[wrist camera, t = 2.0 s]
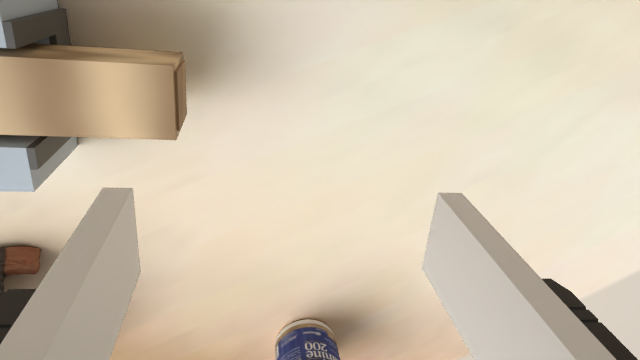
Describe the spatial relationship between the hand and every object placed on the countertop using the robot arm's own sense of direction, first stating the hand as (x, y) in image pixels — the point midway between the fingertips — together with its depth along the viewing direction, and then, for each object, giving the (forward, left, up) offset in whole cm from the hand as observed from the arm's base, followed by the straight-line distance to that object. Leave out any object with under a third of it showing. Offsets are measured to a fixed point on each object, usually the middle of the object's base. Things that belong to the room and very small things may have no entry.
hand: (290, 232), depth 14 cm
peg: (-7, -9, -17) cm, 20 cm away
